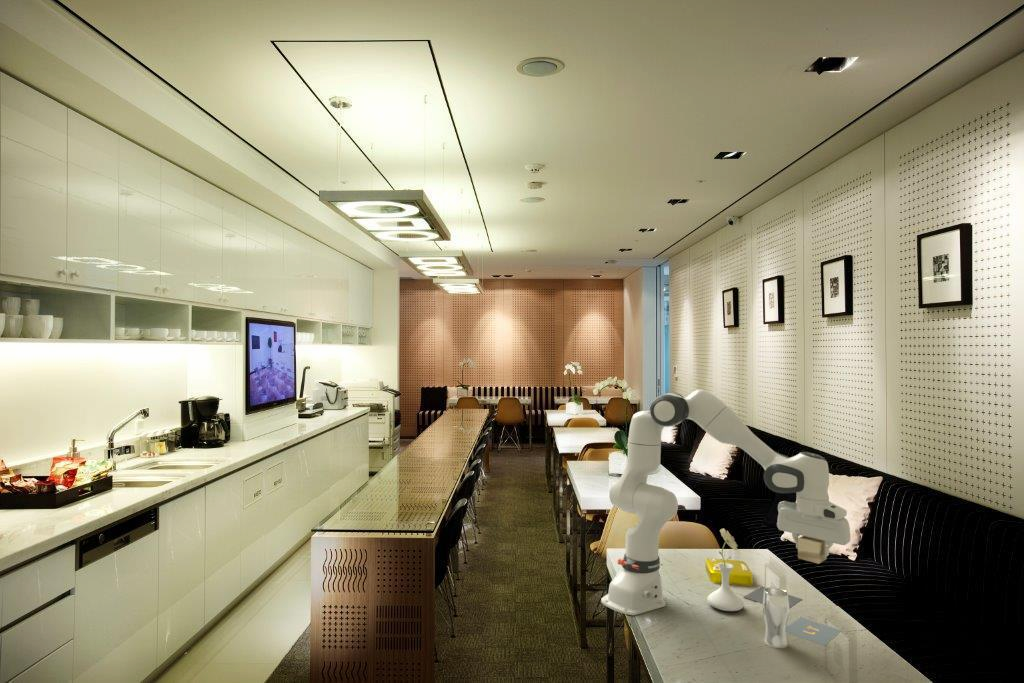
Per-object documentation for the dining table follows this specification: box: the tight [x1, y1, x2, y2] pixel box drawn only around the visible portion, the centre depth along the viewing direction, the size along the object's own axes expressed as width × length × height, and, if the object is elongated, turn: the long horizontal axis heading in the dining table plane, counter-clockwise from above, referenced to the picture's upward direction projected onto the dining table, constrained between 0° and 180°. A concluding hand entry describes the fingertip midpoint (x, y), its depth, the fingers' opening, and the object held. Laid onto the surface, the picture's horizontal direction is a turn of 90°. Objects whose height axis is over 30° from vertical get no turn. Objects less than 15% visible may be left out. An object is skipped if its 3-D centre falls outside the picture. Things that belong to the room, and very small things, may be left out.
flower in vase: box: [706, 528, 745, 612], centre depth 192 cm, size 13×11×25 cm
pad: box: [743, 585, 803, 609], centre depth 197 cm, size 14×14×1 cm
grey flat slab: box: [786, 616, 842, 647], centre depth 175 cm, size 14×12×1 cm
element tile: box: [704, 557, 754, 587], centre depth 217 cm, size 15×15×5 cm
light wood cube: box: [797, 535, 828, 565], centre depth 175 cm, size 6×6×6 cm
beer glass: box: [762, 586, 790, 649], centre depth 167 cm, size 7×7×15 cm
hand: (812, 551), depth 175 cm, fingers closed on light wood cube, 6 cm apart
